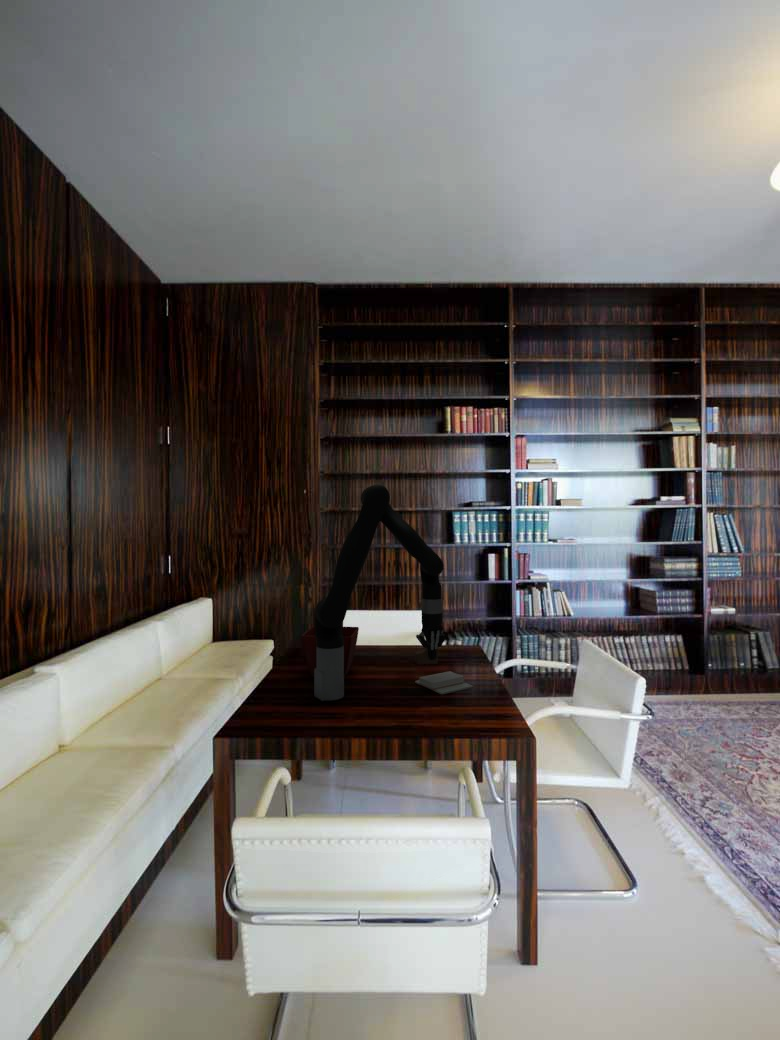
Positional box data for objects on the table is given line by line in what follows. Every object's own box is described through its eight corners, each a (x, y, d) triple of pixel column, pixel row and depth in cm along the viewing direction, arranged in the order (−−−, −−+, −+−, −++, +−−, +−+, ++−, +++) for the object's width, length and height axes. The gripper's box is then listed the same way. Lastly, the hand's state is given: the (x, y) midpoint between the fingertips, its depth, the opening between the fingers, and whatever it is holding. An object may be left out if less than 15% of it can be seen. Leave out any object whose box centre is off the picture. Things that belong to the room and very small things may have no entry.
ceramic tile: (432, 682, 186) (463, 676, 193) (419, 677, 193) (449, 671, 200) (432, 690, 186) (463, 683, 193) (419, 684, 193) (449, 677, 200)
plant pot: (359, 667, 217) (359, 626, 217) (351, 681, 198) (351, 636, 198) (313, 666, 219) (313, 625, 219) (301, 680, 200) (300, 635, 200)
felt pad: (441, 694, 183) (441, 692, 183) (415, 682, 196) (415, 680, 196) (472, 687, 190) (472, 685, 190) (445, 676, 204) (445, 674, 204)
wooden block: (416, 664, 220) (416, 621, 220) (415, 661, 225) (415, 619, 225) (438, 664, 221) (437, 621, 220) (436, 661, 225) (436, 619, 225)
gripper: (423, 614, 184) (423, 664, 184) (453, 610, 191) (453, 659, 191) (410, 611, 190) (411, 659, 190) (440, 607, 197) (440, 654, 197)
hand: (432, 659), depth 191 cm, fingers closed
